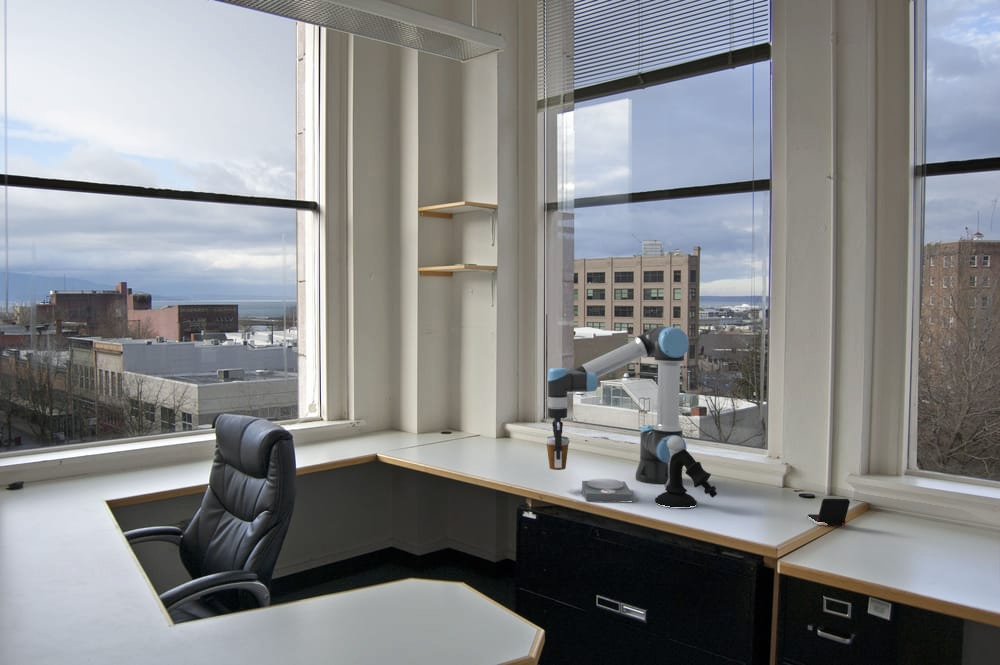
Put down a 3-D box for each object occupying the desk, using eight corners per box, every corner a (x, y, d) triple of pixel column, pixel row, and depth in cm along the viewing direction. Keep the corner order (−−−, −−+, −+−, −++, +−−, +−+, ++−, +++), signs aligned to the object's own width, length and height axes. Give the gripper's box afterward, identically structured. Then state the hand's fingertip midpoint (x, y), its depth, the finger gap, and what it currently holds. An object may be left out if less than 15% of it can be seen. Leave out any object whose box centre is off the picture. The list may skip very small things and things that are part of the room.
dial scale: (624, 489, 299) (624, 479, 299) (632, 502, 279) (632, 491, 279) (581, 488, 299) (582, 478, 299) (586, 501, 279) (586, 490, 279)
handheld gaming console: (833, 518, 262) (834, 490, 261) (850, 529, 250) (851, 499, 249) (806, 518, 261) (807, 490, 261) (822, 528, 249) (823, 499, 249)
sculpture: (667, 495, 289) (669, 431, 288) (725, 507, 273) (727, 439, 272) (647, 503, 278) (648, 436, 277) (706, 516, 262) (708, 445, 261)
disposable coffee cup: (550, 471, 289) (550, 440, 288) (542, 466, 298) (542, 436, 298) (573, 470, 291) (573, 439, 291) (564, 465, 301) (564, 435, 300)
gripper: (547, 403, 304) (547, 459, 305) (548, 411, 283) (548, 471, 284) (565, 403, 304) (565, 459, 305) (568, 411, 283) (568, 471, 284)
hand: (557, 464), depth 295 cm, fingers closed on disposable coffee cup, 8 cm apart
